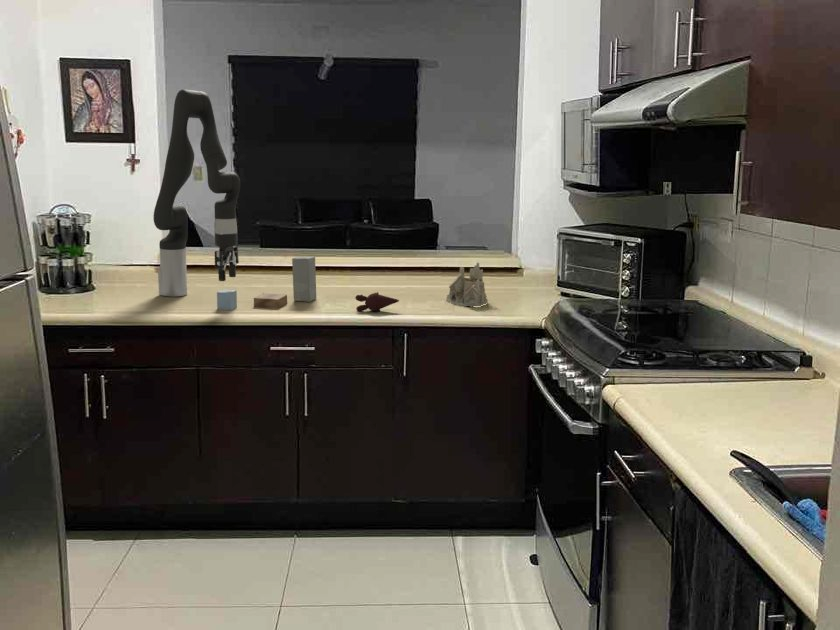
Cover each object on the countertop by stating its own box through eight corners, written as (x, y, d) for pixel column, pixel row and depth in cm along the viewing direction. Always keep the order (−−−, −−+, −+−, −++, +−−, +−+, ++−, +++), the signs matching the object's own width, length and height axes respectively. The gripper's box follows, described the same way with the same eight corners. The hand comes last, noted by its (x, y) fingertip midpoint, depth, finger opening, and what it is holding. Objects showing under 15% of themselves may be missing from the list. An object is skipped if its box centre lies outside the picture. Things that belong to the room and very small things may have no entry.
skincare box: (310, 302, 313) (310, 259, 310) (291, 301, 315) (291, 257, 311) (317, 298, 321) (317, 255, 318) (299, 297, 323) (298, 254, 319)
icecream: (398, 291, 305) (355, 294, 305) (398, 289, 298) (354, 292, 297) (399, 310, 305) (356, 313, 304) (399, 309, 297) (355, 313, 297)
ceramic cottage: (450, 296, 331) (452, 258, 327) (492, 302, 326) (495, 263, 322) (438, 306, 317) (440, 266, 312) (481, 312, 312) (484, 271, 307)
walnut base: (253, 307, 304) (253, 297, 303) (263, 302, 312) (263, 293, 312) (278, 309, 302) (278, 299, 301) (287, 304, 311) (287, 294, 310)
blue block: (217, 309, 298) (216, 292, 297) (223, 306, 303) (223, 289, 302) (230, 310, 297) (230, 293, 296) (236, 307, 302) (236, 290, 301)
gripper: (224, 229, 302) (225, 275, 305) (206, 233, 288) (208, 281, 292) (244, 230, 301) (245, 276, 304) (227, 234, 287) (229, 282, 290)
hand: (227, 279), depth 298 cm, fingers open, 8 cm apart
